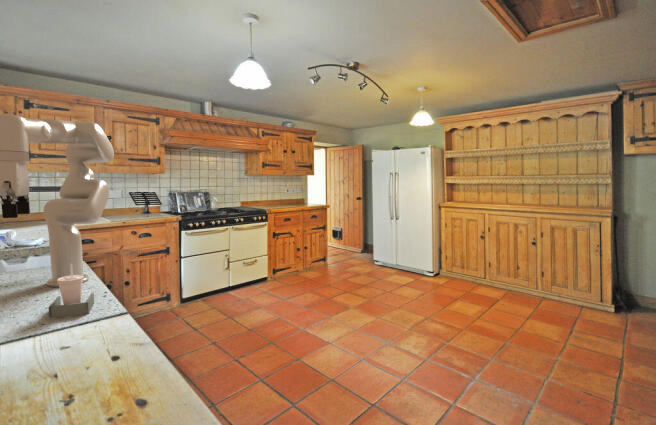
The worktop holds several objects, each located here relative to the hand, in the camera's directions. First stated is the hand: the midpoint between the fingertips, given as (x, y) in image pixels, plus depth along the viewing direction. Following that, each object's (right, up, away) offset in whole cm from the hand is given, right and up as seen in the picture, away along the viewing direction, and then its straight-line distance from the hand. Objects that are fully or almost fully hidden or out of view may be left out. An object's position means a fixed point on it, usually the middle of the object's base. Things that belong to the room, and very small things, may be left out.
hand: (17, 215), depth 101 cm
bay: (+16, -29, +1) cm, 33 cm away
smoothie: (+16, -28, +1) cm, 33 cm away
